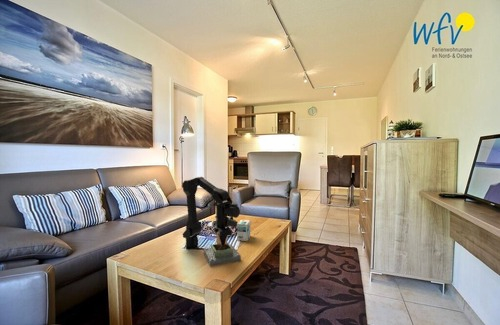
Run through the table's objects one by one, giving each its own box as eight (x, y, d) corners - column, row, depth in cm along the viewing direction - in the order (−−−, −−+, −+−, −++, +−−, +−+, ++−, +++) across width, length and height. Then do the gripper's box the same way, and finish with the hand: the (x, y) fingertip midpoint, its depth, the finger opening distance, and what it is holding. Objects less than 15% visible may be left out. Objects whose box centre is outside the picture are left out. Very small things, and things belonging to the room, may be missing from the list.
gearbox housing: (210, 266, 115) (210, 255, 115) (203, 253, 130) (203, 243, 130) (240, 260, 121) (240, 250, 121) (231, 248, 136) (231, 239, 136)
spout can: (218, 252, 122) (217, 233, 122) (215, 248, 127) (215, 230, 127) (231, 249, 125) (231, 232, 125) (228, 246, 130) (228, 228, 130)
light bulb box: (247, 241, 148) (247, 224, 148) (236, 240, 150) (236, 223, 149) (250, 235, 159) (250, 219, 158) (240, 235, 160) (240, 219, 160)
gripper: (241, 217, 119) (241, 247, 120) (230, 209, 137) (230, 236, 137) (220, 219, 115) (220, 251, 116) (211, 211, 132) (211, 238, 133)
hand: (221, 243), depth 126 cm, fingers closed on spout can, 5 cm apart
